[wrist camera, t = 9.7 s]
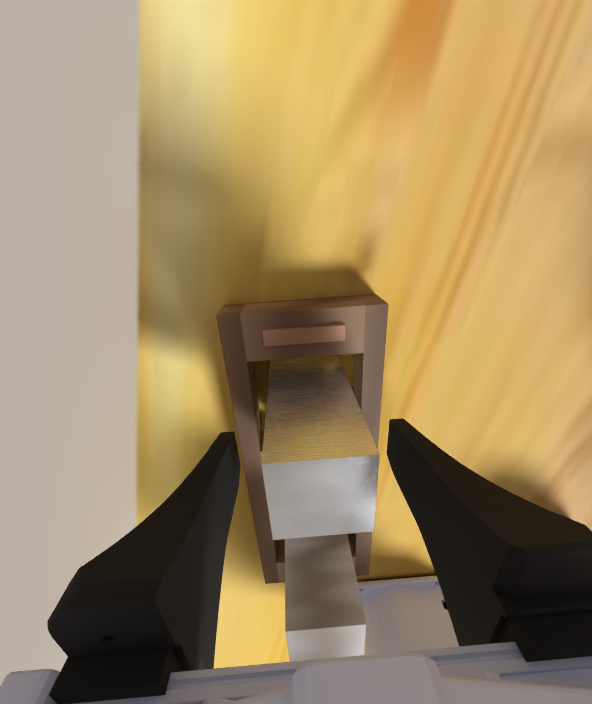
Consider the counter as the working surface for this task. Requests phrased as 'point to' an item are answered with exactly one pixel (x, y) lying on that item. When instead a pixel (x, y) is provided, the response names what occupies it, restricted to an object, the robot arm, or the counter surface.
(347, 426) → the block
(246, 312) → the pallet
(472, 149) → the counter surface
